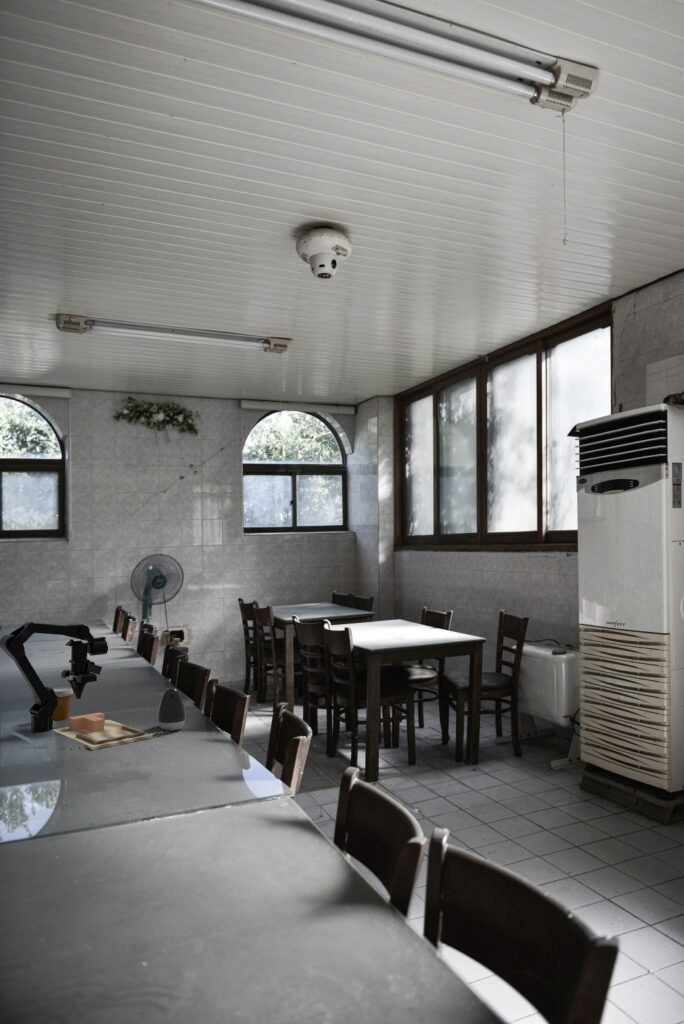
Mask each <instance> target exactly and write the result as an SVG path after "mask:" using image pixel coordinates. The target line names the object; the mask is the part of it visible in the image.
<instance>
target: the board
mask: <svg viewBox="0 0 684 1024" xmlns="http://www.w3.org/2000/svg"><path fill="white" fill-rule="evenodd" d="M52 731H54V732H56V733H58V734H61V735H63V736H65V737H67V738H70V739H71V740H74V741H77V742H79V743H81V744H84V746H85V747H84V748H86V747H87V748H86V749H88V748H90V749H89V750H91V749H92V750H91V751H94V750H93V749H96V750H100V749H99V748H101V749H106V748H110V746H111V747H114V746H115V745H116V746H120V744H121V745H125V743H126V744H130V742H131V743H135V741H136V742H139V741H144V740H149V739H153V738H154V736H153V734H151V733H149V732H145V731H142V730H139V729H137V728H133V727H130V726H127V725H125V724H122V723H119V722H116V721H113V720H111V719H105V725H104V731H98V732H91V731H89V730H86V729H79V730H74V731H73V730H71V729H69V726H65V727H60V728H55V729H54V728H53V729H52ZM116 746H115V747H116ZM105 747H106V748H105Z"/></svg>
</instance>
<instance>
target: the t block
mask: <svg viewBox="0 0 684 1024" xmlns="http://www.w3.org/2000/svg"><path fill="white" fill-rule="evenodd" d="M105 716H106V714H105V713H103V712H94V713H89V714H83V715H77V716H69V719H68V727H69V729H71V730H73V731H74V730H79V729H86V730H89V731H91V732H98V731H104V725H105V720H106V717H105Z"/></svg>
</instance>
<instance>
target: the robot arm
mask: <svg viewBox="0 0 684 1024" xmlns="http://www.w3.org/2000/svg"><path fill="white" fill-rule="evenodd" d="M33 634H42V635H43V634H44V635H59V636H65V637H68V638H70V639H69V640H68V641H67V642H66V643H65V646H67V647H70V649H71V653H70V656H71V657H70V659H69V661H68V662H69V664H70V669H64V670H62V672H61V675H60V676H61V678H62V679H66V678H68V677H69V679H67V682H68V683H69V686H70V688H72V691H73V694H74V696H75V698H76V700H80V699H81V698H82V695H83V692H84V689H85V686H86V685H87V684H88V683H93V682H97V681H98V675H99V676H100V675H101V672H102V670H103V666H101V665H97V664H96V662H95V661H91V660H90V659H88V654H89V656H90V657H92V656H93V657H94V656H102V655H104V656H105V655H107V654H108V651H109V646H108V642H107V640H106V637H105V636H99V637H94V636H93V634H92V633H91V631H90V627H89V626H88V625H87V624H84V623H77V622H76V623H75V622H74V623H67V624H56V623H55V624H53V623H43V622H34V621H33V622H32V621H27V622H24V624H22V625H21V626H19V627H18V628H16V629H15V630H13V631H11V632H10V633H8V634H5V635H3V636H2V637H0V648H1V650H2V651H3V652H4V654H6V655H7V656H8V657H9V658H11V660H12V661H13V662H14V664H15V665H16V667H17V668H18V670H19V671H20V673H21V675H22V677H23V678H24V680H25V681H26V683H27V686H29V688H30V690H31V692H32V696H33V697H32V698H33V700H34V704H33V705H32V706H31V707H30V708H29V709H28V711H29V714H30V731H31V732H32V733H33V734H34V733H35V734H36V733H44V732H49V731H53V729H54V722H53V719H52V715H53V713H54V710H55V709H56V708H57V705H58V700H57V698H58V696H56V694H55V692H54V690H53V688H52V687H48V686H45V684H44V683H43V681H42V680H41V678H40V676H39V674H38V673H37V671H36V669H35V668H34V667H33V665H32V664H31V662H30V660H29V658H28V657H27V655H26V649H25V648H26V647H25V646H24V644H25V643H26V642H27V641H28V640H29V639H30V638H31V637H32V636H33ZM71 638H72V639H71ZM74 639H76V640H74ZM84 641H85V642H84Z"/></svg>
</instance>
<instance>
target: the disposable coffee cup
mask: <svg viewBox="0 0 684 1024" xmlns="http://www.w3.org/2000/svg"><path fill="white" fill-rule="evenodd" d="M52 689H53V690H54V692H55V694H56V696H58V698H57V700H58V705H57V708H56V709H55V710H54V713H53V715H52V719H53V720H54V721H57V722H60V721H61V720H62V721H67V720H66V719H68V718H70V711H71V704H72V695H73V694H74V691H73V689H72V687H69V686H68V687H65V686H63V687H55V688H52ZM68 720H69V719H68Z"/></svg>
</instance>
